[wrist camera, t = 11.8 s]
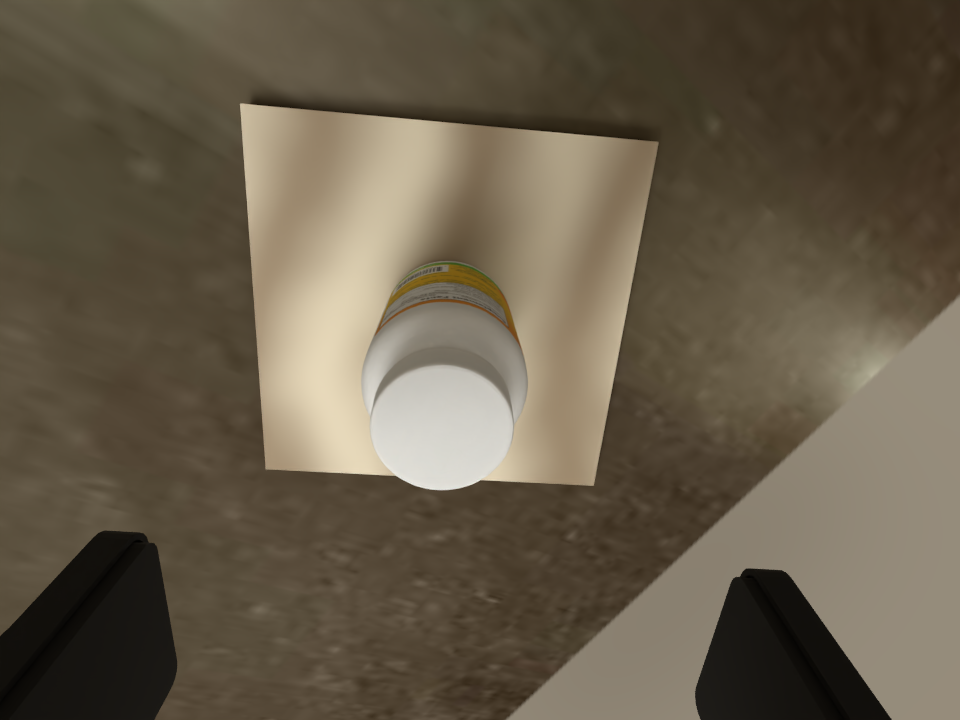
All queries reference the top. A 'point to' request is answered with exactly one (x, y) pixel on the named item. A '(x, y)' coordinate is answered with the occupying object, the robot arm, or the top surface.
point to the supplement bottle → (444, 377)
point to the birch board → (431, 238)
